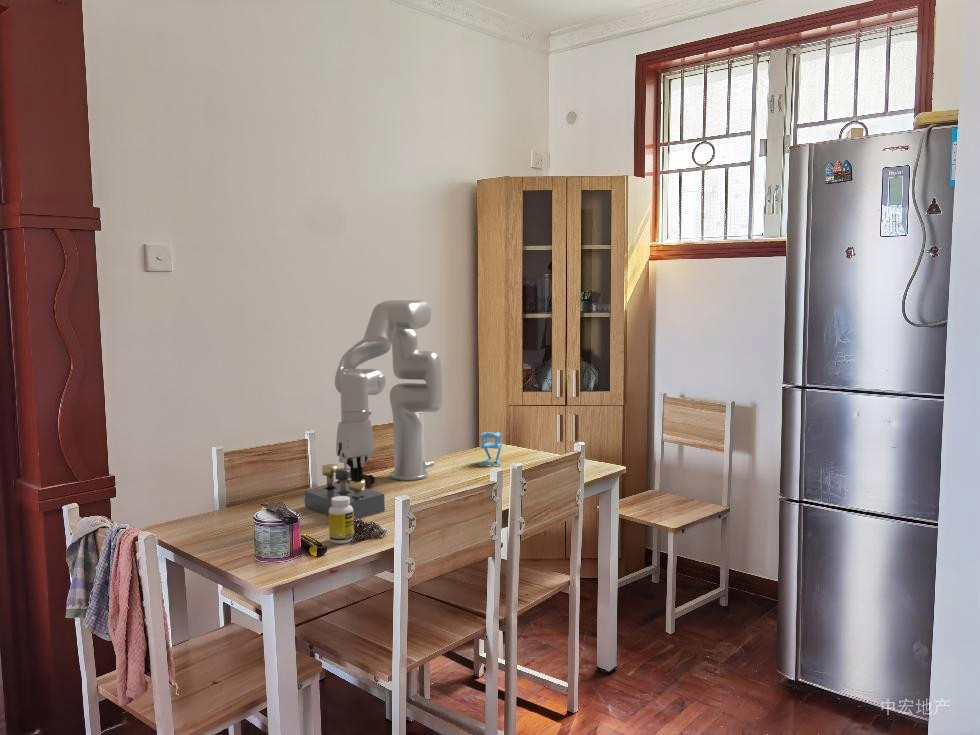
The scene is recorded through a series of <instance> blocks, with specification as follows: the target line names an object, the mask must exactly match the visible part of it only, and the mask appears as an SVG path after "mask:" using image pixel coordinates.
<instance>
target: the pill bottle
mask: <svg viewBox="0 0 980 735" xmlns="http://www.w3.org/2000/svg"><path fill="white" fill-rule="evenodd" d="M331 503H332V506H331V507H330V508H329V516H328V531H329V532H328V533H329V537H328V538H329V541H330V543H332V544H339V545H340V544H341V545H342V544H348V543H350V541H351V540H352V537H353V535H354V536H355V525H354V520H355V519H353V507H352V506H350V505H349V504H350V497H348V496H336V497H333V498H332V499H331ZM352 541H353V540H352ZM352 541H351V542H352Z"/></svg>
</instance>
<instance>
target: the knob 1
mask: <svg viewBox="0 0 980 735" xmlns="http://www.w3.org/2000/svg"><path fill="white" fill-rule="evenodd" d="M321 469H322V470H321V471H322V472H321V473H322V474H321V475H322V476H324V477H325V476H326V486H327V490H332V489H334V484H335V481H334V480H335V470H336V469H338V464H335V463H333V464H330V463H329V464H324V465H322V466H321Z"/></svg>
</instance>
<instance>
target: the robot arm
mask: <svg viewBox="0 0 980 735" xmlns="http://www.w3.org/2000/svg"><path fill="white" fill-rule="evenodd" d="M431 308H432V307H431V306H430V304H429V303H428V302H427V301H426V300H423V299H422V300H421V299H420V300H418V299H417V300H414V299H412V300H411V299H410V300H407V299H406V300H405V299H400V300H399V299H393V300H386V301H382V302H380V303H377V304H375V306H374V308H373V309H372V312H371V315H370V317H369V319H368V320H369V321H368V324H367V327H366V330H365V333H364V336H363V338H362V339H361V340H360V341H358V342H356V343H355V344H354V345H352V346H351V347H350V348H349V349H348V350H347V351H345V353H344V354H343V355H342V356H341V359H340V361H339V362H338V367H337V369H336V372H335V373H336V374H335V377H334V386H335V389H336V391H337V392H338V393H340V411H341V412H340V417H341V420H340V421H339V422H338V425H337V431H336V439H335V441H336V442H335V443H336V444H335V449H336V450H335V451H336V452H335V454H336V456H338V457H339V458H338V462H339V463H342V464H346V465H347V466H348V467H349V469H350V473H351V478H350V480H352V481H355V482H359V481H362V477H363V469H364V468H363V467H365V463H366V461H367V460H370V459H371V458H373V456H374V454H373V453H374V450H375V444H374V442H375V441H374V440H375V439H374V432H373V426H372V422H371V420H370V418H369V417H370V416H372V410H370V409H369V396H375V395H379V394H380V393H382V392H383V390H384V389H385V387H386V378H385V375H384V373H383V372H382V371H381V370H379V369H375V368H357V367H359V366H360V365H361V364H364V363H365V362H368V361H370V360H374V359H376V358H378V357H381V356H383V355H385V354H387V353H388V352H389V351H390V350H391V354H392V370H393V373H394V374H393V375H394V376H395V377H396V378H398V379H400V380H407V381H408V380H412V381H413V380H418V381H424V382H425V383H417V382H415V383H414V382H404V383H403V382H401V383H397V384H394V385H393V386H392V387H391V388H390V392H389V402H390V407H391V413H392V423H393V424H392V426H393V427H392V428H393V457H394V459H393V461H394V463H393V464H394V470H393V471H391V472H390V474H389V477H390V478H391V479H392V480H396V481H403V482H405V481H407V480H409V481H418V480H422V478H423V479H425V478H427V477H428V476H429V475H428V474H429V473H428V471H427V469H428V468H433V467H434V466H435V463H434V461H432V460H431V461H427V462H426V461H424V460H423V459H424V455H423V452H424V450H423V426H422V425H423V424H422V421H421V419H420V418H419V416H418V415H417V413H436V412H438V411H440V409H441V408H442V405H443V378H442V377H443V374H442V362H441V359H440V356H439V355H438V353H437V352H435V351H432V350H419V345H418V344H419V343H418V334H417V332H416V330H419V329H422V328H425V327H426V326H427V325H428V324H429V323H430V322H431V318H432V309H431ZM404 480H405V481H404Z"/></svg>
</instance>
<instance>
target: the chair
mask: <svg viewBox="0 0 980 735" xmlns="http://www.w3.org/2000/svg"><path fill="white" fill-rule="evenodd" d="M480 437H481V440H482V442H481V443H482V444H481V445H480V449H484V451H485V453H486V455H487V457H488V459H486V460H483V461H480V462H478V466H479V465H491V466H490V467H492V466H494V465H499V466H495V467H497V468H498V467H501V462H500V461H499V460H500V459H499V458H500V454H501V450H502V446H503V442H501V437H502V434H501V432H498V431H497V432H491V431H487V432H486V431H484V432H481V434H480ZM489 439H495V442H488V441H489ZM488 449H494V450H495V449H497V454H496V457H495V463H491V462H489V461H492V460H493V459H492V456H491V454H490V452H489V450H488ZM486 462H489V463H486ZM495 467H494V468H495Z"/></svg>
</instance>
